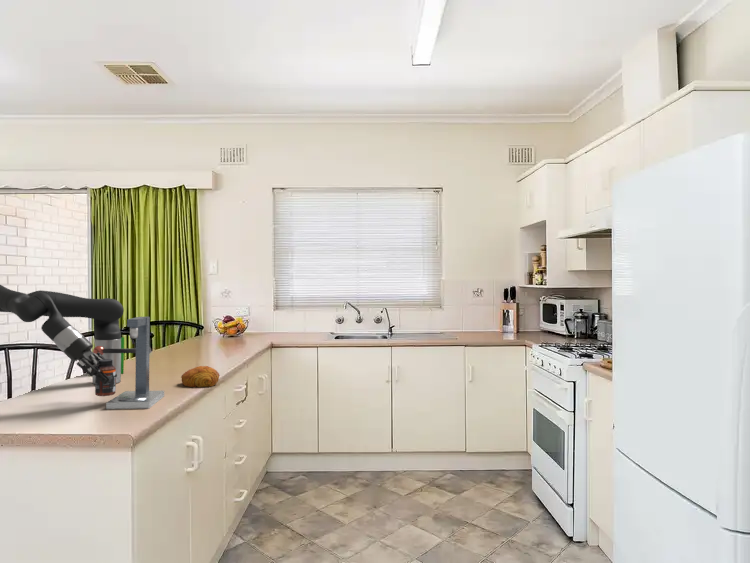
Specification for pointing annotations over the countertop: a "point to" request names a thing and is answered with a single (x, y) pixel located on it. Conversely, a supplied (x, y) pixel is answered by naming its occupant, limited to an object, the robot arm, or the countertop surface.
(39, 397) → the countertop surface
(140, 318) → the press
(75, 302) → the robot arm
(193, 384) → the croissant
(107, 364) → the supplement bottle
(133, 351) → the lever
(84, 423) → the countertop surface
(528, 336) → the countertop surface
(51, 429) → the countertop surface
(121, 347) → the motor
